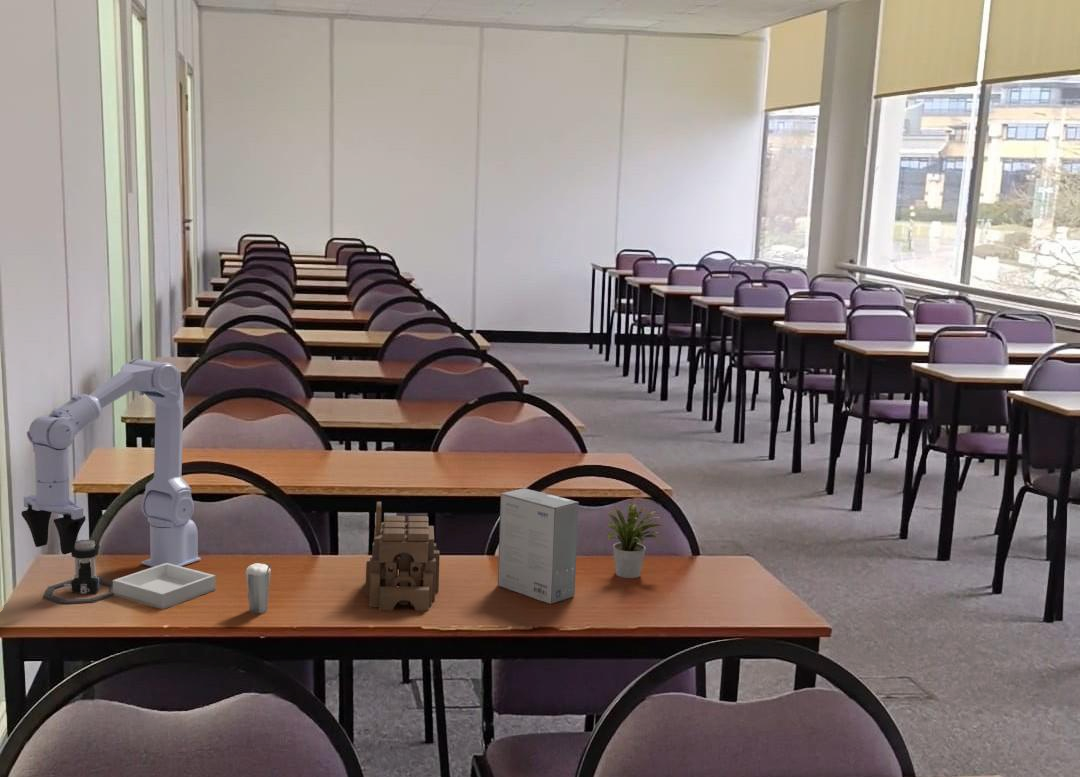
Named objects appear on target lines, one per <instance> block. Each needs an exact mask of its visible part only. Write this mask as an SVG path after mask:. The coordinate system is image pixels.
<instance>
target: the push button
mask: <svg viewBox="0 0 1080 777" xmlns="http://www.w3.org/2000/svg"><path fill="white" fill-rule="evenodd" d="M99 550H100V545H99V544H96V543H95V541H94V540H92V539H80V540H76V543H75V547H74V551H73V552H72V553H70V554H71V557H72V558H74V562H75V563H74V566H75V568H74V572H75V574H74V575H73V576H74V578H73V579H71V580H72V582H71V584H64V586H63V587H65V588H64V589H63V591H71V593H72V594H81V595H82V594H94V595H95V594H97V593H98V591H99V590H100V583H99V579H100V578H99V577H98V576H97V575H98V574H96V556H98V555H99ZM68 586H69V587H68ZM66 587H67V588H66Z"/></svg>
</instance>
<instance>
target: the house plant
mask: <svg viewBox="0 0 1080 777" xmlns="http://www.w3.org/2000/svg"><path fill="white" fill-rule="evenodd" d="M637 506H638V505H637V502H635V503H633V504H632V500H630V501H629V504H628V509H627V521H626V520H625V518H624V514H623V513H622V511H621V510H619V509H618V508H617V506H614V510H615V511H616V513H617V516H618V518H617V516H616V515H615V514H614V512H613V511H611V510H609V509H608V511H609V512H611V513H612V514H611V513H609V512H606V511H605V514H606V515H608V516H609V517H610V519H611V520H612V521H613V522H614V523H615V524H614V523H607V524H606V526H608V527H609V528H611V529H613V531H615V532H616V533H617V534H616V533H615V532H614V533H613V532H608V533H607V536H606V538H607V539H606V540H607V541H608V540H610V539H618V540H619V541H620V542H617V543H616V542H615V543H614V544H613V545H612V549H613V550H612V551H613V559H614V567H615V575H616V576H618V577H619V578H623V579H635V578H639V577H640V575H641V570H642V566H643V561H644V558H645V553H646V549H647V548H646V546H645V545H643V544H642V543H643V541H644V540H645V539H646V538H655V539H658V536H659V537H661V536H660V535H659V534H660V532H659V531H654V530H651V531H650V530H647V529H650V528H655V527H659V526H660V527H661V526H666V524H663V523H661V524H660V523H649V522H656V520H654V519H655V518H657V519H658V518H659V519H660V518H662V516H654V517H653V516H652V515H653V514H654V513H656V512H658V511H659V509H655V510H653V511H651V512H649V513H648V514H646V516H645V517H643V518H642V519H641V521H640V522H639V523H637V522H638V519H639V518H640V516H641V514H642V513H643V512H644V510H645V509H646V508H647V506H648V504H646V505H645V506H644V507H642V508H641V509H640V510H639V511H638V510H637ZM651 516H652V517H651ZM648 523H649V524H648ZM635 526H636V528H635ZM646 530H647V531H646Z"/></svg>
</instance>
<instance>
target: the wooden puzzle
mask: <svg viewBox="0 0 1080 777" xmlns="http://www.w3.org/2000/svg"><path fill="white" fill-rule="evenodd" d="M375 510H376V511H375V512H376V513H375V528H374V536H373V537H374V538H373V542H372V547H371V548H372V549H371V550H372V552H371V554H372V557H369V560H367V561H366V563H365V595H368V600H369V607H371V608H372V607H373V608H376V607H379V609H378V610H379V611H394V607H397V604H399V605H409V603H410V606H411V607H413V608H414V611H429V610H430V607H432V606H433V602H435V601H436V593H438V594H439V591H440V590H439V587H440V559H441V558H440V555H441V554H440V552H441V551H440V550H438V549H437V543H436V542H435V530H434V529H435V526H434V525H429V524H430V523H429V516H427V515H409V516H407V522H406V516H404V515H385V516H384V517H383V520H384V522H382V501H376V508H375Z"/></svg>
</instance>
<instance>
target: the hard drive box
mask: <svg viewBox="0 0 1080 777" xmlns="http://www.w3.org/2000/svg"><path fill="white" fill-rule="evenodd" d="M499 502H500V504H499V506H500V507H499V530H498V531H499V534H498V536H499V537H498V538H499V539H498V561H497V562H498V564H497V568H498V570H497V586H499V587H502V588H505V589H507V590H510V591H512V592H516V593H518V594H521V595H523V596H526V597H529V598H532V599H534V600H537V601H540V602H544V603H546V604H549V605H550V604H555V603H557V602H561V601H564V600H566V599H570V598H573V597H575V595H576V575H577V574H576V573H577V571H576V569H577V548H578V525H579V524H578V522H579V520H578V519H579V504H580V502H579V501H575V500H572V499H568V498H564V497H561V496H557V495H553V494H551V493H550V494H548V493H546V492H540V491H538V490H532V489H528V488H519V489H514V490H511V491H506V492H502V493H500V501H499Z"/></svg>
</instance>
